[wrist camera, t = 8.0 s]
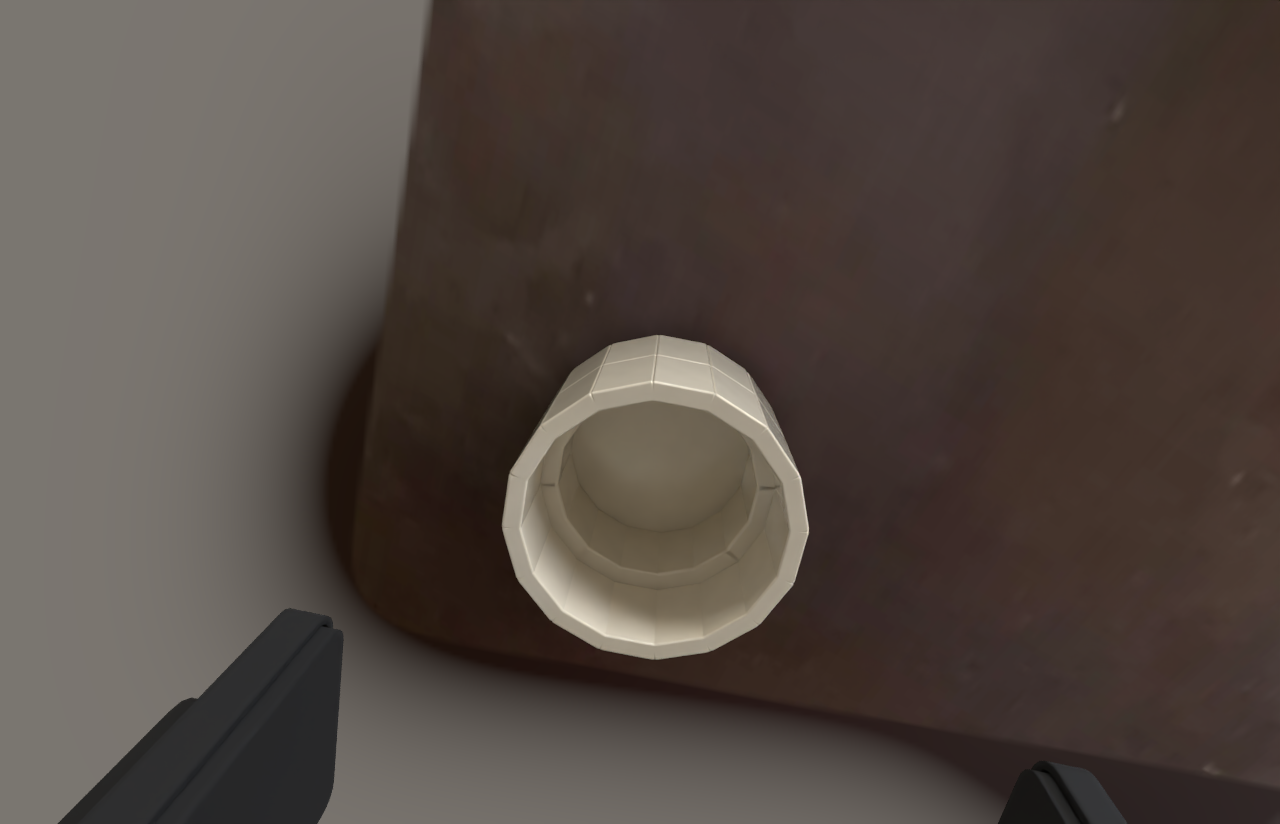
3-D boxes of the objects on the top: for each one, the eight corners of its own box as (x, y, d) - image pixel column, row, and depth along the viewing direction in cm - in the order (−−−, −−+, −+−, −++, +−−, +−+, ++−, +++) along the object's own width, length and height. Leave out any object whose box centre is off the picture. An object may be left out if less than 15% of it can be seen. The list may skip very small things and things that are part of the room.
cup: (531, 525, 23) (486, 628, 17) (564, 312, 20) (524, 355, 15) (745, 567, 23) (765, 682, 17) (801, 358, 20) (843, 418, 15)
